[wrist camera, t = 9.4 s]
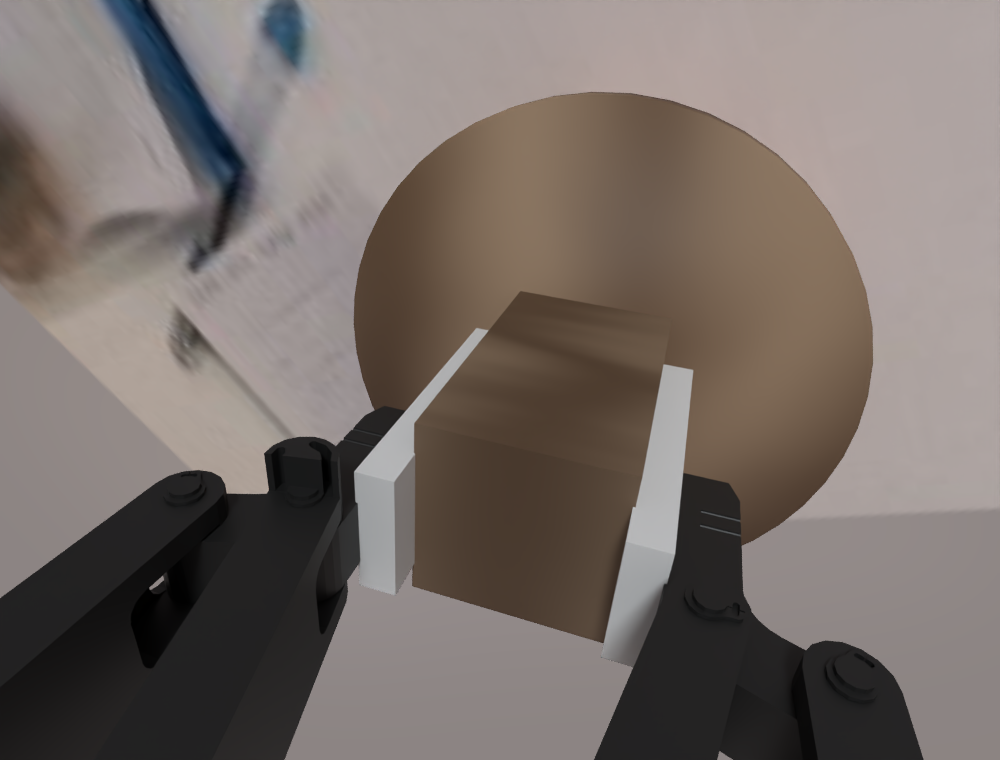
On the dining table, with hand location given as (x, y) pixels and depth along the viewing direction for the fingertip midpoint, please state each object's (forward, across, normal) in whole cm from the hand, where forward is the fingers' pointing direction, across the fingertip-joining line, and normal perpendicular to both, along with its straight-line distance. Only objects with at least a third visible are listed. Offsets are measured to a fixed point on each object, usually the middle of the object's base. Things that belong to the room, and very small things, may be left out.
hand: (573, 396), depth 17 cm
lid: (+2, 0, 0) cm, 2 cm away
